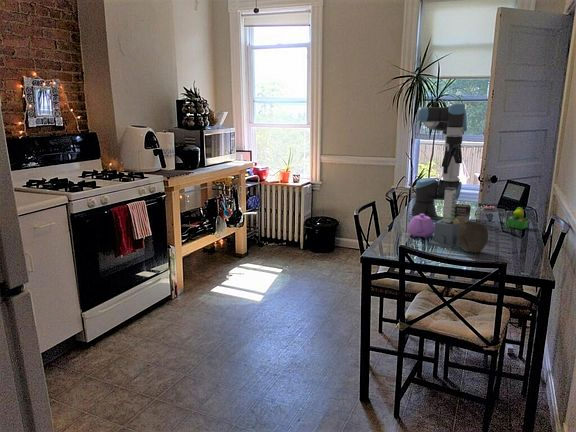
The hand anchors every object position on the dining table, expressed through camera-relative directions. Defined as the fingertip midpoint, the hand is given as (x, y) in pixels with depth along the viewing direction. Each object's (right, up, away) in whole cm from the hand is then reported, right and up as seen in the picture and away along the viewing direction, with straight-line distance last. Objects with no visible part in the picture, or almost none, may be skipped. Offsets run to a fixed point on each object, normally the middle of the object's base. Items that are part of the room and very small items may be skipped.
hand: (450, 177), depth 233 cm
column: (-1, -26, 0) cm, 26 cm away
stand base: (-2, -33, +2) cm, 33 cm away
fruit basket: (+49, -26, +31) cm, 63 cm away
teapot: (-12, -30, +14) cm, 35 cm away
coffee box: (+11, -29, +18) cm, 36 cm away
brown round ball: (+6, -37, -12) cm, 39 cm away
